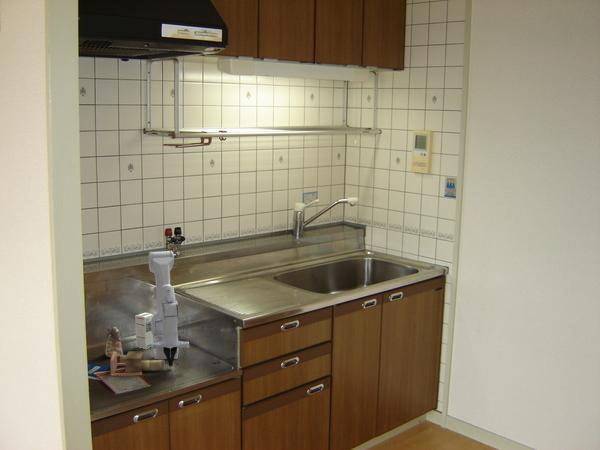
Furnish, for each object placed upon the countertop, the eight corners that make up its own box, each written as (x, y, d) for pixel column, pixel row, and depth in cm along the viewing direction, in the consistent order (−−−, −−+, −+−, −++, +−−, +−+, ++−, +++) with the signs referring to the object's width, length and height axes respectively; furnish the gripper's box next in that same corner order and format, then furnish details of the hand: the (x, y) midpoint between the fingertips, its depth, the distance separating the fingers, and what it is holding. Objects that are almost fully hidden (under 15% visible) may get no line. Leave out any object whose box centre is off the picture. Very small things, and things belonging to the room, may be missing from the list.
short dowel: (141, 362, 288) (141, 354, 288) (140, 363, 285) (140, 355, 285) (121, 362, 287) (121, 354, 287) (120, 363, 284) (120, 355, 284)
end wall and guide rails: (145, 364, 284) (144, 349, 283) (142, 375, 272) (141, 360, 271) (114, 365, 283) (114, 350, 282) (110, 376, 271) (109, 361, 270)
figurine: (120, 357, 292) (119, 329, 290) (103, 357, 292) (102, 329, 290) (125, 351, 299) (124, 324, 297) (108, 351, 299) (107, 324, 297)
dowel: (164, 366, 281) (164, 357, 279) (163, 372, 277) (163, 363, 276) (135, 367, 280) (134, 358, 278) (134, 373, 276) (133, 364, 274)
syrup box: (145, 349, 301) (145, 317, 299) (135, 347, 305) (134, 314, 302) (155, 346, 306) (154, 313, 304) (145, 343, 309) (144, 311, 307)
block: (143, 365, 282) (143, 351, 282) (141, 373, 274) (140, 358, 273) (128, 365, 282) (127, 351, 281) (125, 373, 273) (125, 359, 272)
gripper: (150, 336, 272) (151, 369, 274) (188, 334, 274) (188, 368, 276) (152, 330, 279) (152, 363, 281) (189, 329, 281) (189, 362, 283)
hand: (170, 365), depth 279 cm, fingers closed
